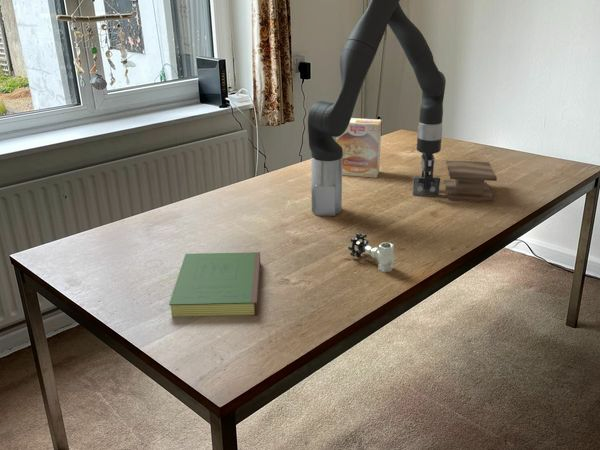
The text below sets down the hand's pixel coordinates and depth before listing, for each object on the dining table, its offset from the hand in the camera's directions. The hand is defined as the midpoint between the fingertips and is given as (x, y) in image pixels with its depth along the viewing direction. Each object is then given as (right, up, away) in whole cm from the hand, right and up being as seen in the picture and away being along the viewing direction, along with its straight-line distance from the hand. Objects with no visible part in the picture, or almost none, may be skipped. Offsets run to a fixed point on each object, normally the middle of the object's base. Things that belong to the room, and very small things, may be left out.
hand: (425, 184), depth 195 cm
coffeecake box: (-20, +5, +21) cm, 29 cm away
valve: (-22, -23, -43) cm, 54 cm away
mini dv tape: (0, -4, +1) cm, 4 cm away
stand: (+14, -2, +3) cm, 15 cm away
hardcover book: (-60, -29, -53) cm, 85 cm away
